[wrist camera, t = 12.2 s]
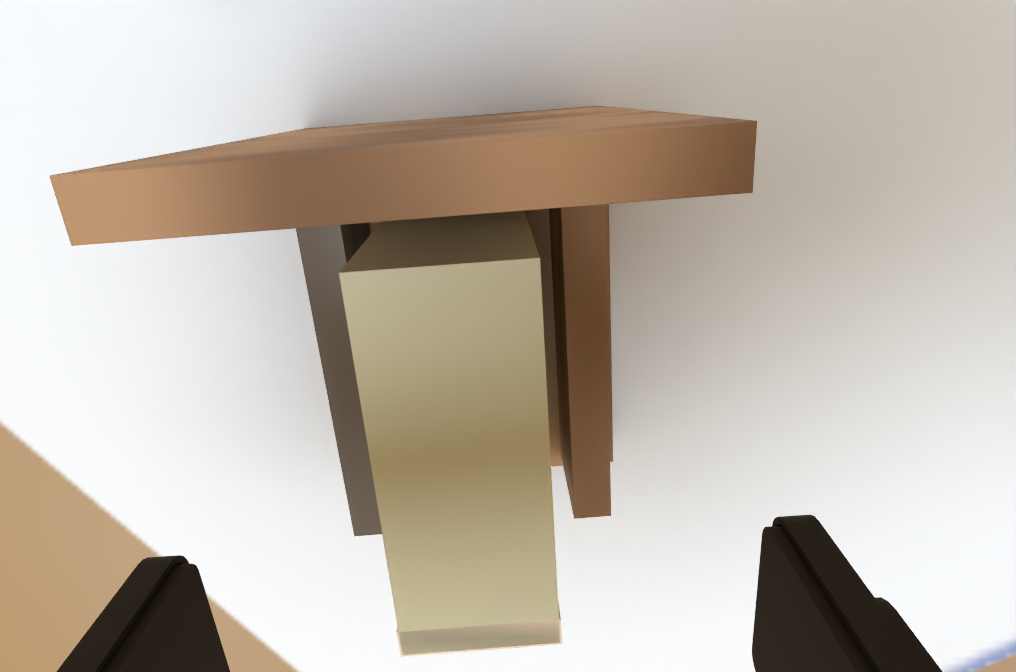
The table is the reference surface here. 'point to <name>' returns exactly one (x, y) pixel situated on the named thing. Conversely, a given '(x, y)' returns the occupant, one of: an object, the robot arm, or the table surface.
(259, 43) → the table surface
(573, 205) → the shelf
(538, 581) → the beige rectangular block
